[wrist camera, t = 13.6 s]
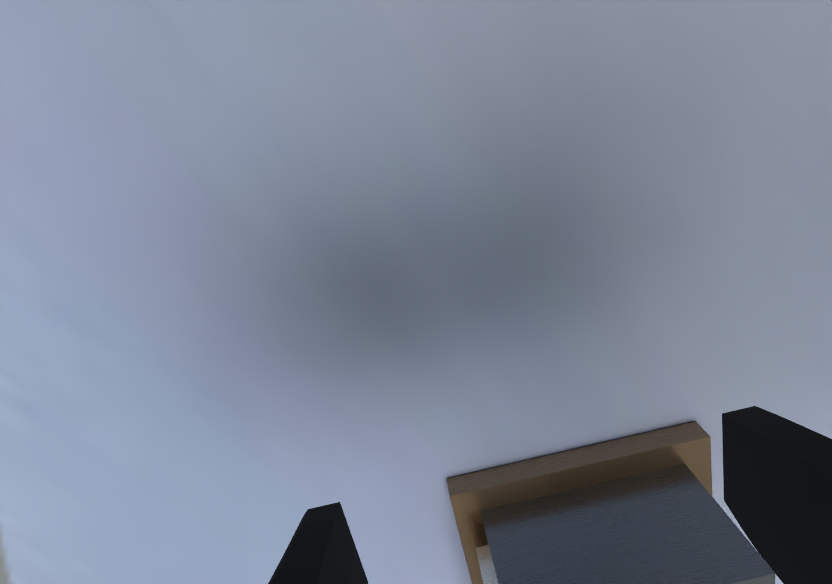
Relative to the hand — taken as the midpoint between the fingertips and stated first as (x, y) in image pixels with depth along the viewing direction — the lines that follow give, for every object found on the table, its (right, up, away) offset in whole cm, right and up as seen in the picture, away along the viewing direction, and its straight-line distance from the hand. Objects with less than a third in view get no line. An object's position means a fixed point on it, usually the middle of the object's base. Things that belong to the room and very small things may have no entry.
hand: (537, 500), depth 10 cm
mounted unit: (+5, -6, +13) cm, 15 cm away
